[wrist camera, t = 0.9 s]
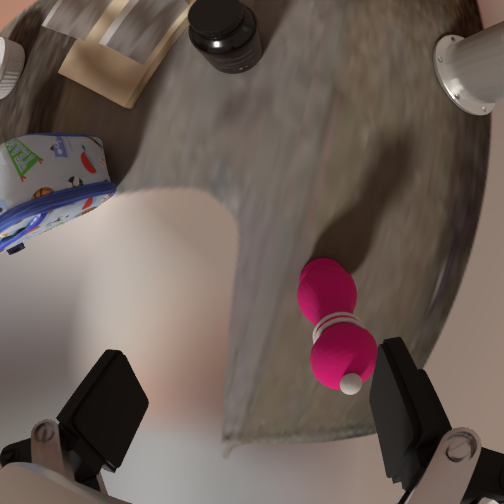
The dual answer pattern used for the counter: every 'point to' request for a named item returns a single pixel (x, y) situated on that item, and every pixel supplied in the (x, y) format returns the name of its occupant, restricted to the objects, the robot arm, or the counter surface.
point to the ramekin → (10, 65)
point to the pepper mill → (335, 327)
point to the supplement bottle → (225, 34)
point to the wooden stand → (117, 42)
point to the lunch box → (49, 183)
